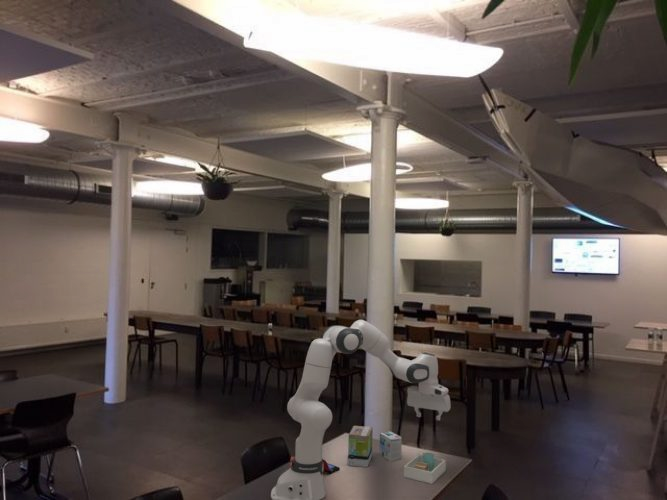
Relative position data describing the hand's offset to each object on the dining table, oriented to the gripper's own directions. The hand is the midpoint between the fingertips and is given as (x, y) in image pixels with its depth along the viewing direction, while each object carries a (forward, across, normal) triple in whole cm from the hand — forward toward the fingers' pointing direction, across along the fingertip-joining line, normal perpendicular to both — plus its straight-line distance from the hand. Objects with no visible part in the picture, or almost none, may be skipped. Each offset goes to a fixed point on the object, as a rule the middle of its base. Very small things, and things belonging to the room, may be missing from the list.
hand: (428, 418), depth 239 cm
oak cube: (+24, 0, -8) cm, 25 cm away
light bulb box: (+24, -23, +7) cm, 34 cm away
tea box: (+24, -33, -6) cm, 41 cm away
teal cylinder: (+23, 0, 0) cm, 23 cm away
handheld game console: (+25, -42, -24) cm, 54 cm away
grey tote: (+24, 0, -4) cm, 24 cm away
